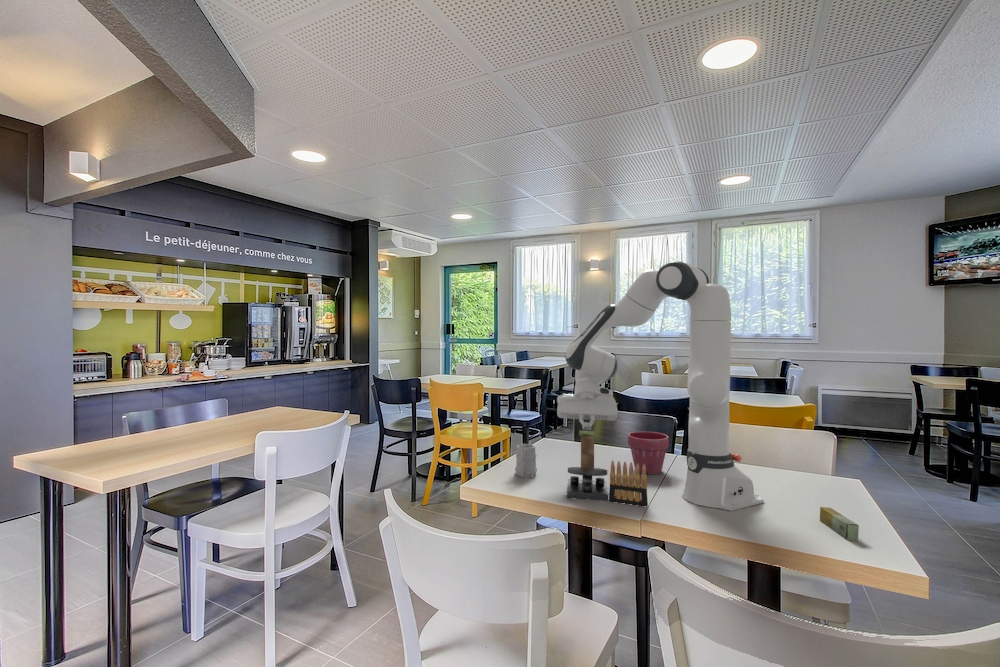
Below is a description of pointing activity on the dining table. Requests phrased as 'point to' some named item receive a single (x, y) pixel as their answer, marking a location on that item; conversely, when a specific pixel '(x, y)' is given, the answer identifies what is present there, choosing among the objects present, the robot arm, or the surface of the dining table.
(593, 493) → the stand
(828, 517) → the medication box
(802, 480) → the dining table surface
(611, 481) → the ammunition clip
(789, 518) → the dining table surface
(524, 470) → the mug
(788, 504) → the dining table surface
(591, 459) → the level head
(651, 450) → the plant pot
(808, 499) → the dining table surface
